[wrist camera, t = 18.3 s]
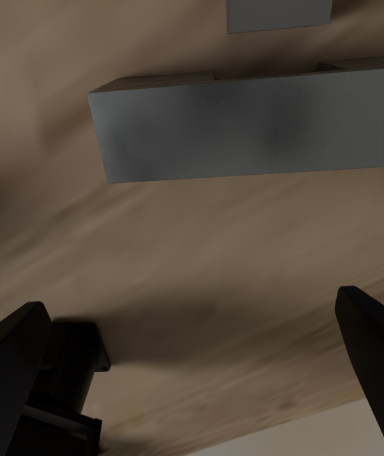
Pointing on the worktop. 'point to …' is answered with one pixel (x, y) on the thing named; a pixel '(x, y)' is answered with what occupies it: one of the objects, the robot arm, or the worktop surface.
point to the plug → (275, 14)
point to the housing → (241, 123)
